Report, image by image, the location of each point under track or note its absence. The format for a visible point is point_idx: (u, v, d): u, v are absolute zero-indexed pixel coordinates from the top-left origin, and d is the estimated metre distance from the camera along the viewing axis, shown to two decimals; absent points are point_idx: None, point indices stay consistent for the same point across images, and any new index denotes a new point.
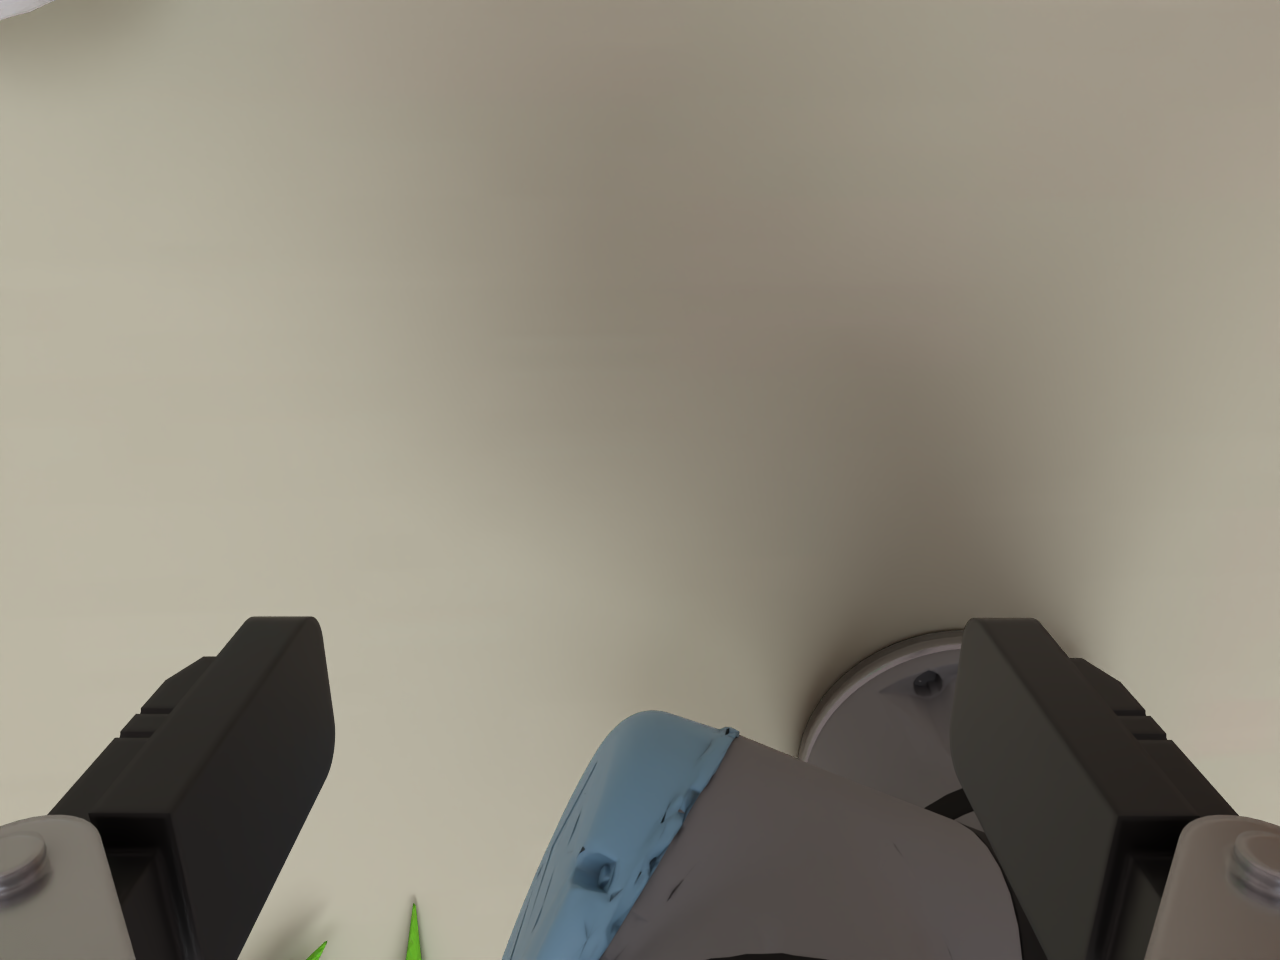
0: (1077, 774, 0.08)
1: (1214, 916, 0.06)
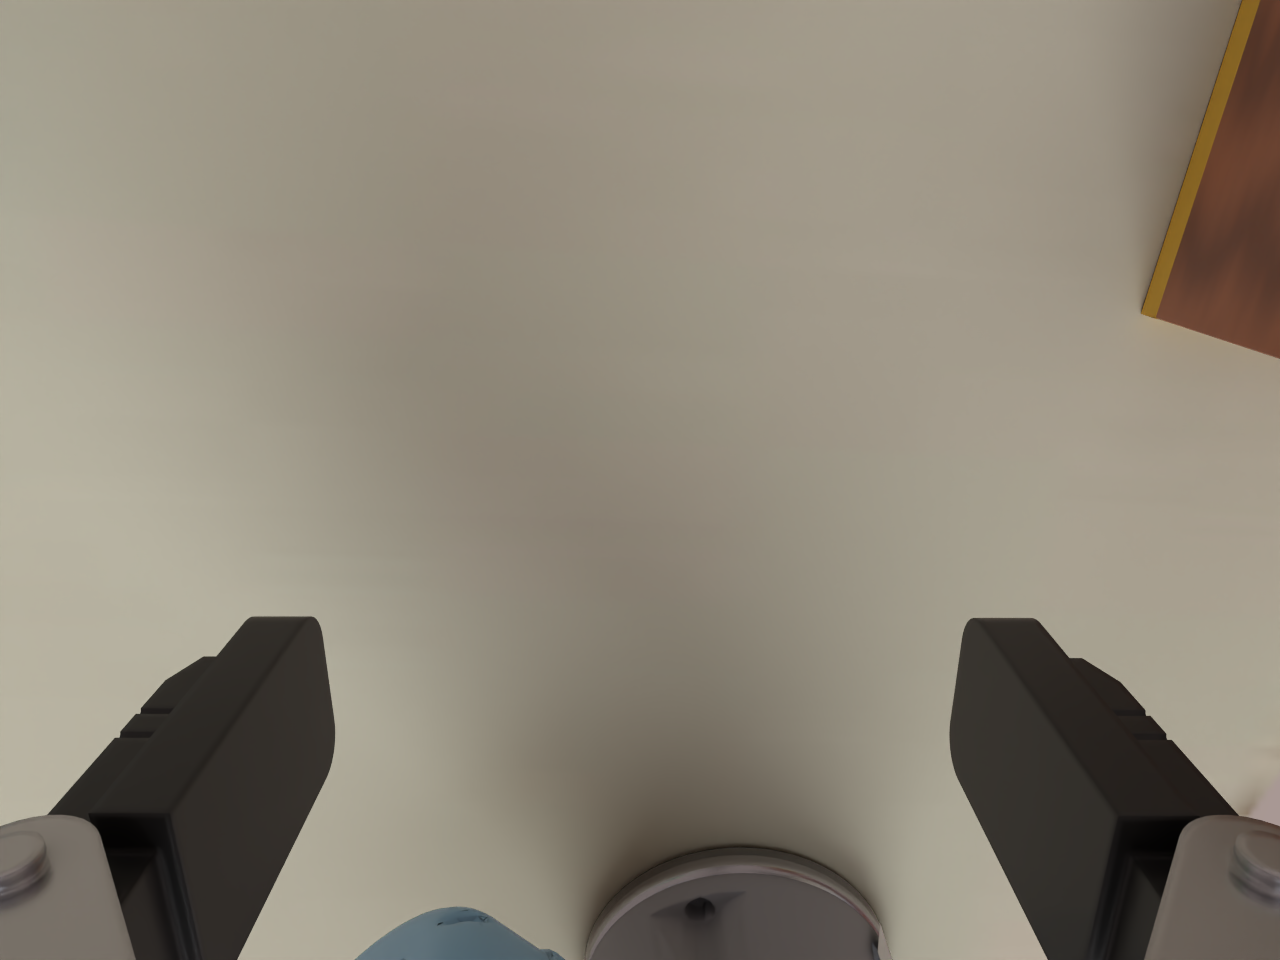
0: (1077, 774, 0.08)
1: (1214, 916, 0.06)
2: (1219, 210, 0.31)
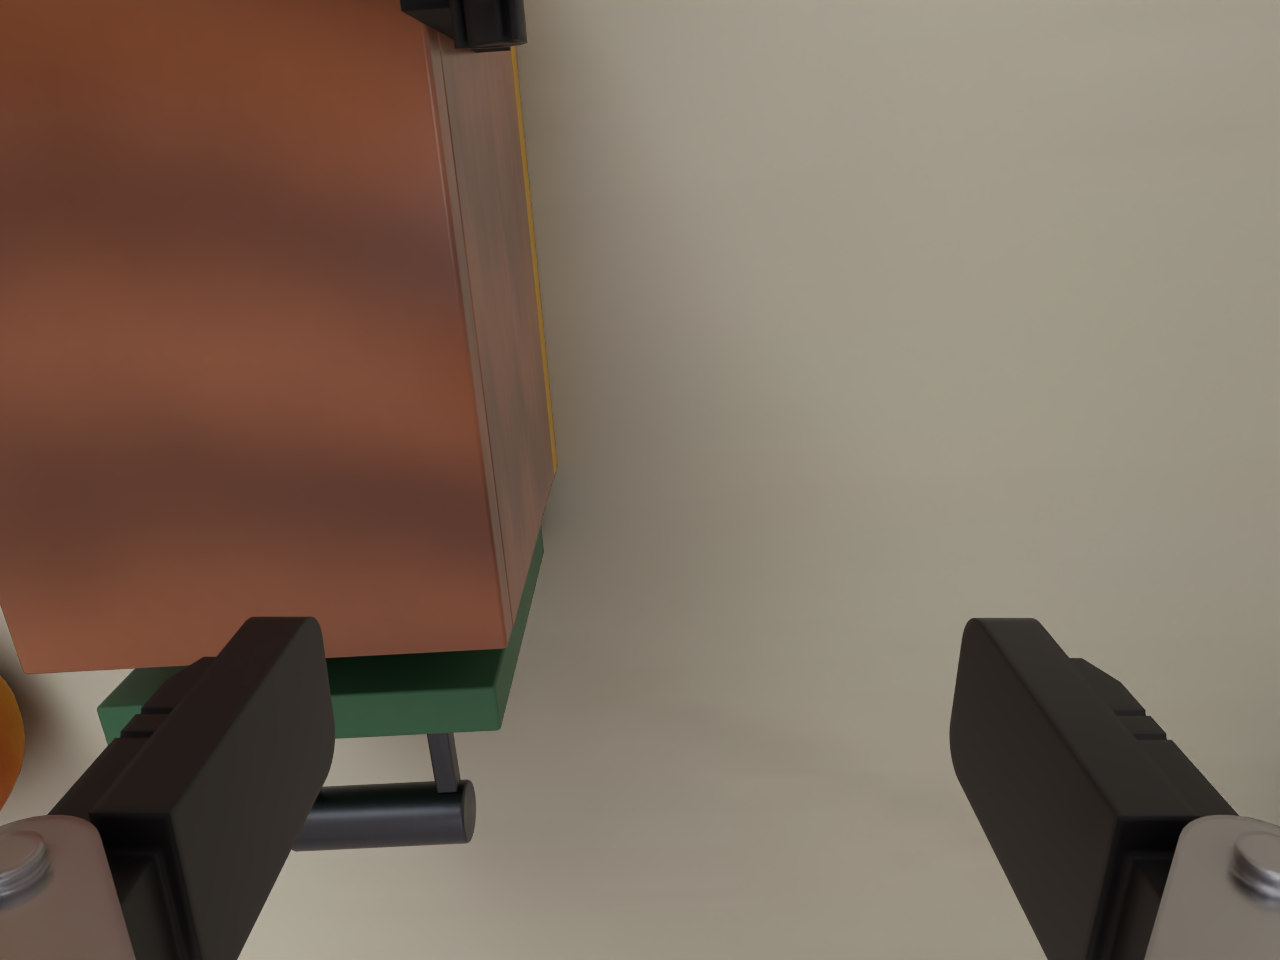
0: (1077, 774, 0.08)
1: (1214, 916, 0.06)
2: None
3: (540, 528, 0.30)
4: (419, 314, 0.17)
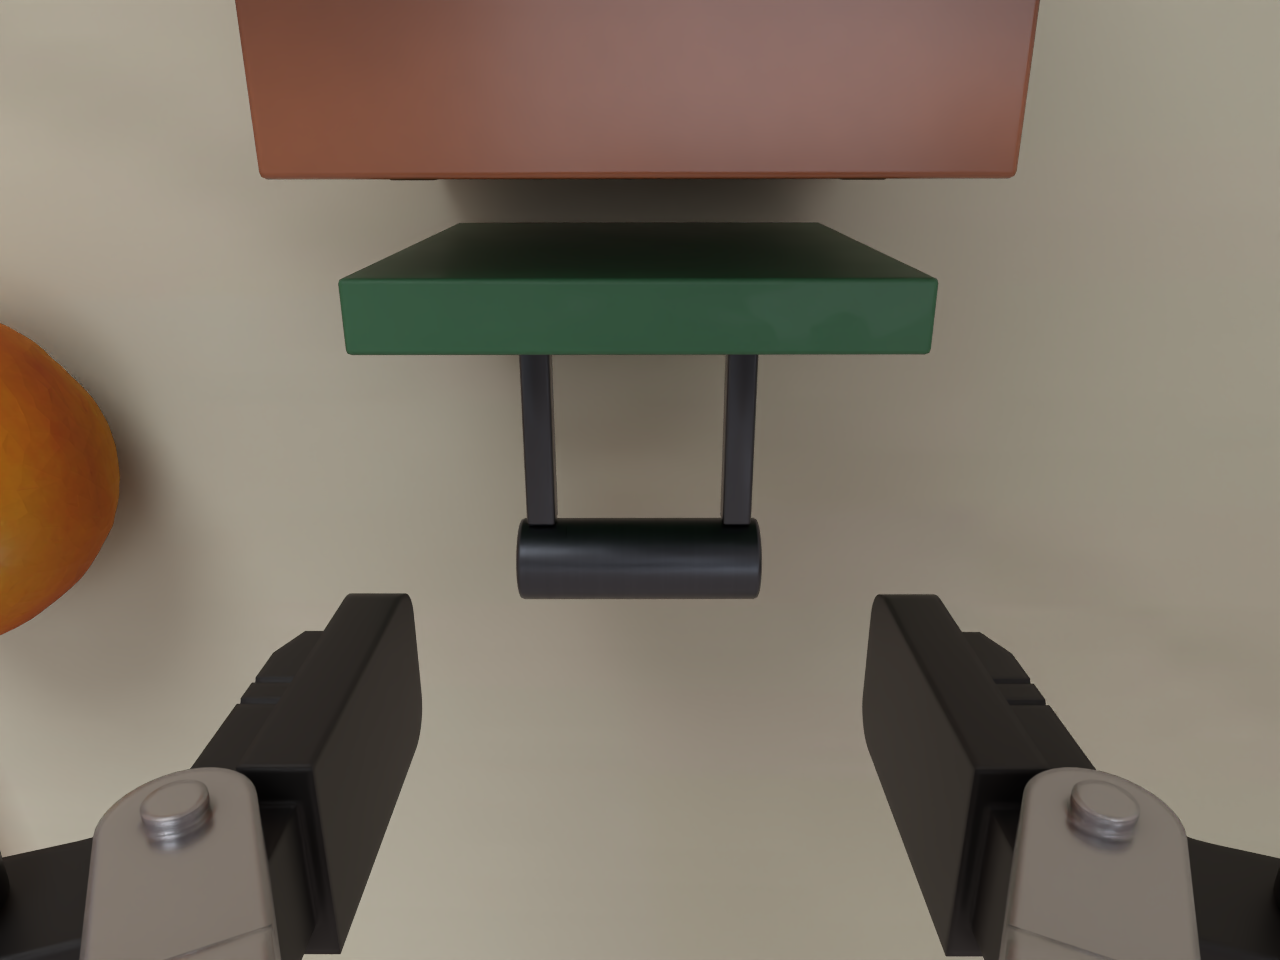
0: (948, 734, 0.09)
1: (1061, 866, 0.07)
2: None
3: None
4: None
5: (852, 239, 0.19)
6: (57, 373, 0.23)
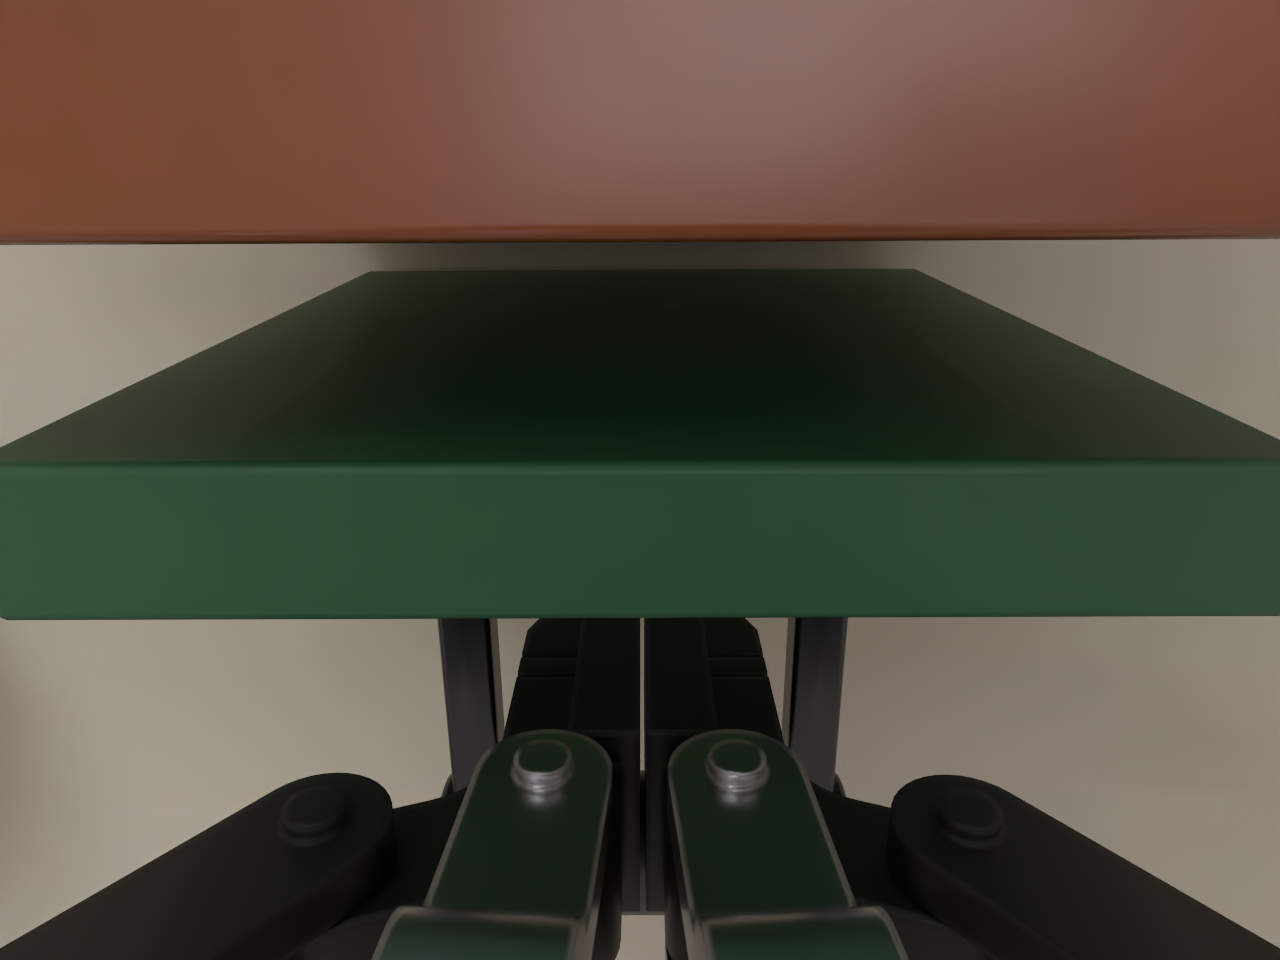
0: (646, 701, 0.09)
1: (718, 834, 0.07)
2: None
3: None
4: None
5: (1003, 311, 0.11)
6: None
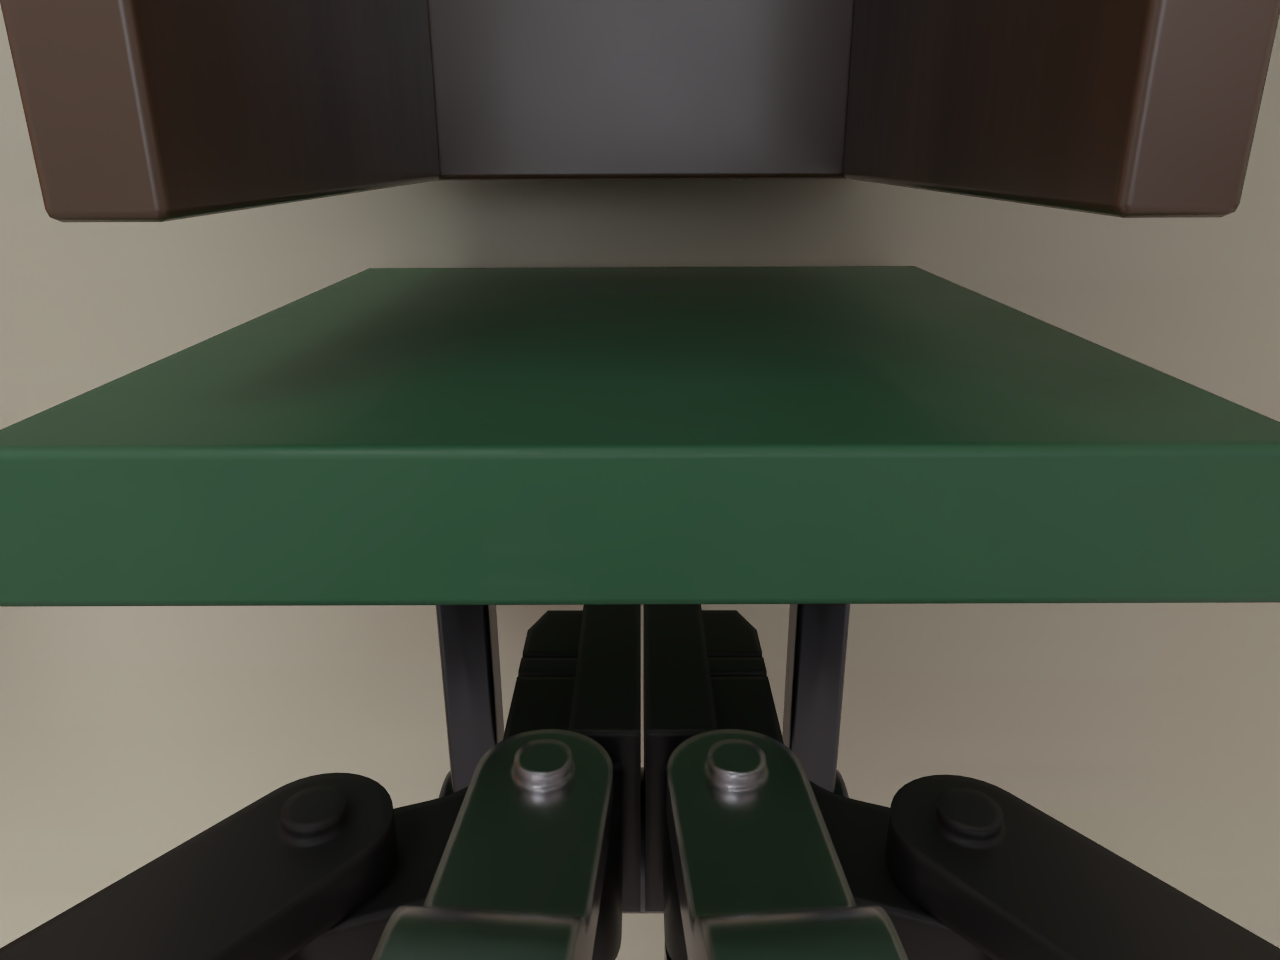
0: None
1: (717, 833, 0.07)
2: None
3: None
4: None
5: (1005, 305, 0.11)
6: None
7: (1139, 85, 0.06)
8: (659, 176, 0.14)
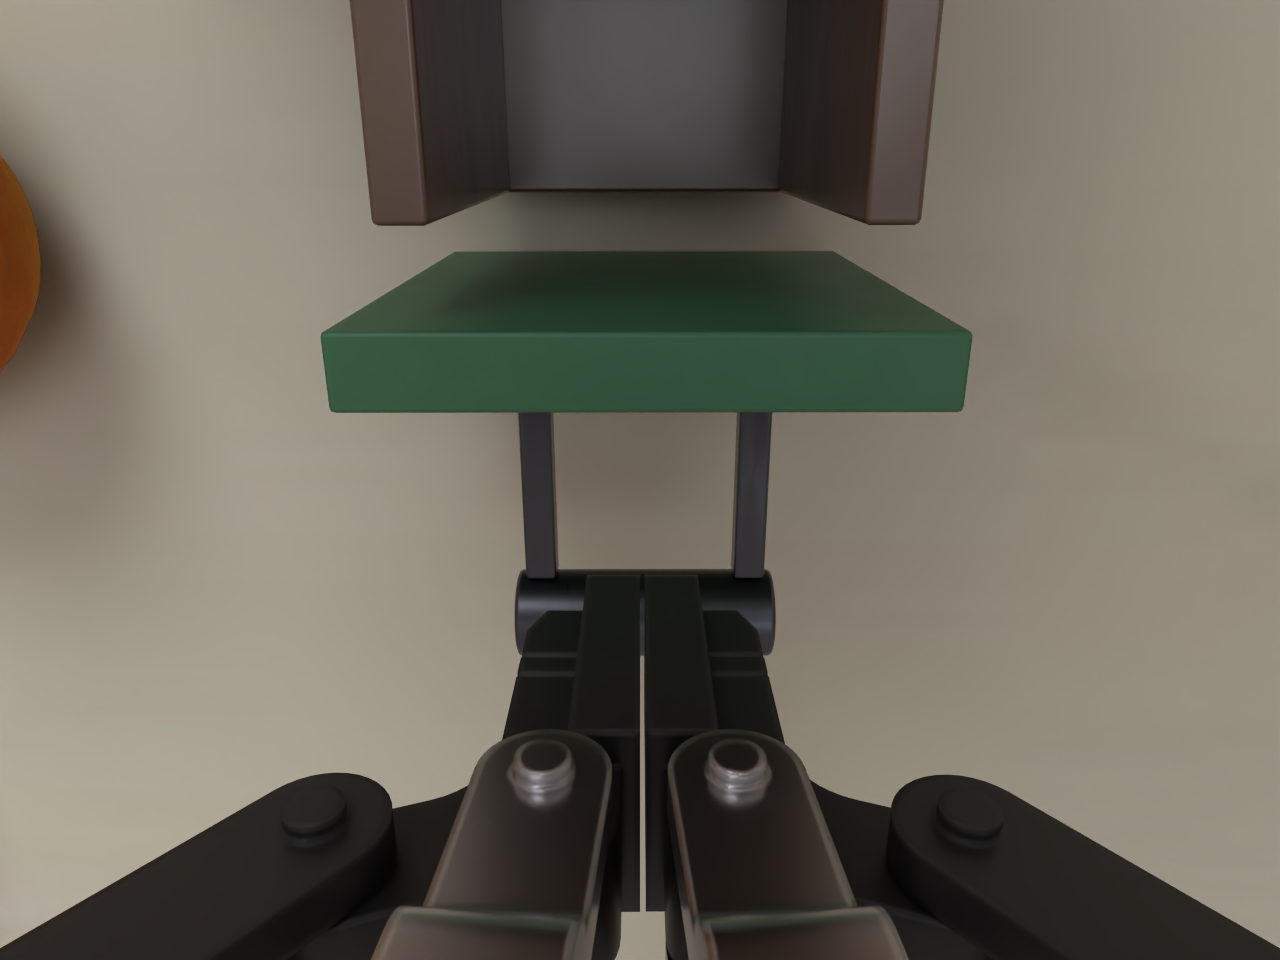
0: (646, 701, 0.09)
1: (719, 833, 0.07)
2: None
3: None
4: None
5: (871, 275, 0.18)
6: None
7: (871, 166, 0.12)
8: (656, 190, 0.20)
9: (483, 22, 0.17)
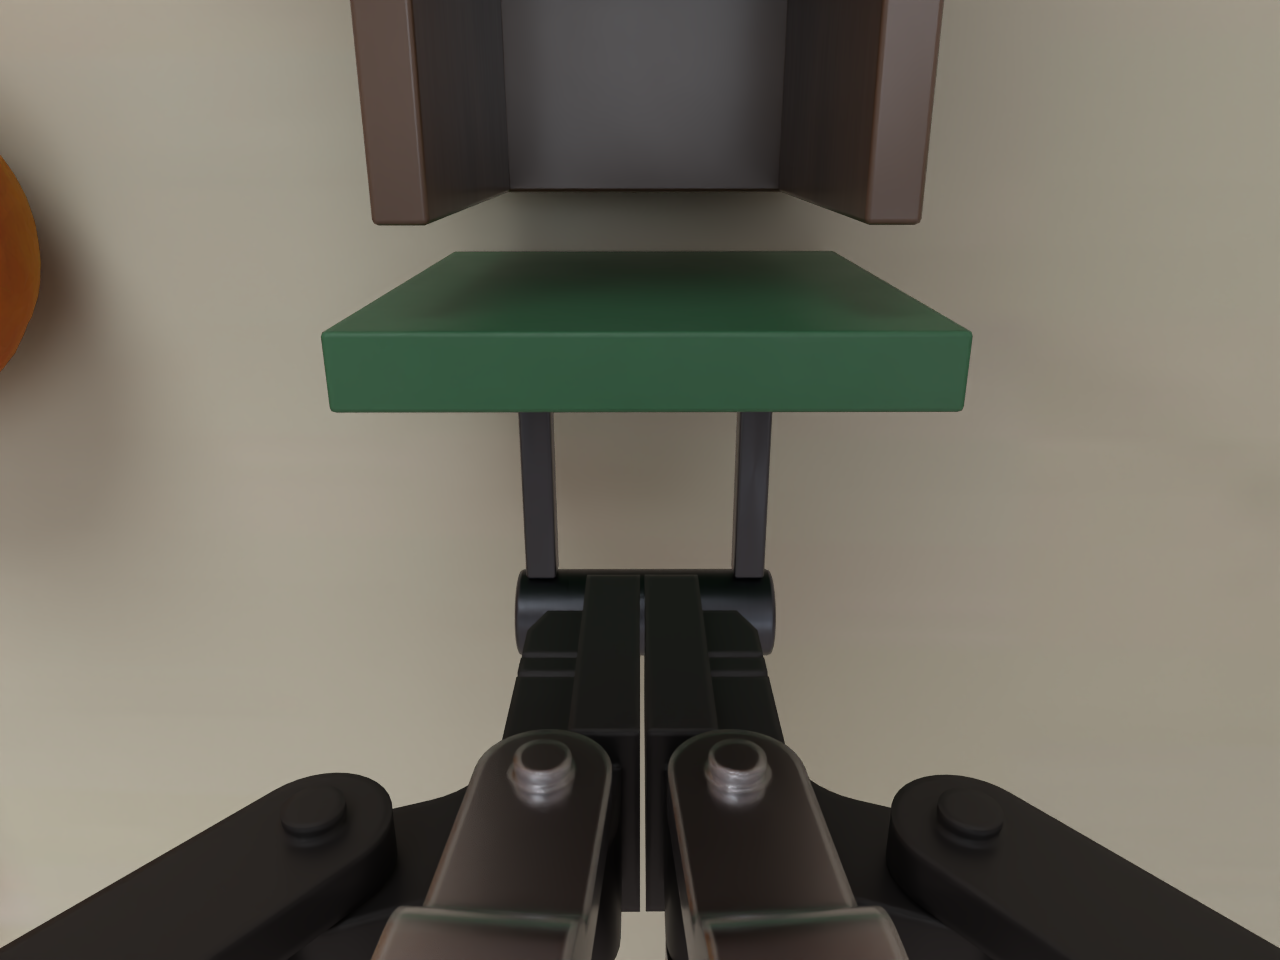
0: (646, 701, 0.09)
1: (719, 833, 0.07)
2: None
3: None
4: None
5: (871, 275, 0.18)
6: None
7: (871, 165, 0.12)
8: (656, 190, 0.20)
9: (483, 22, 0.17)
